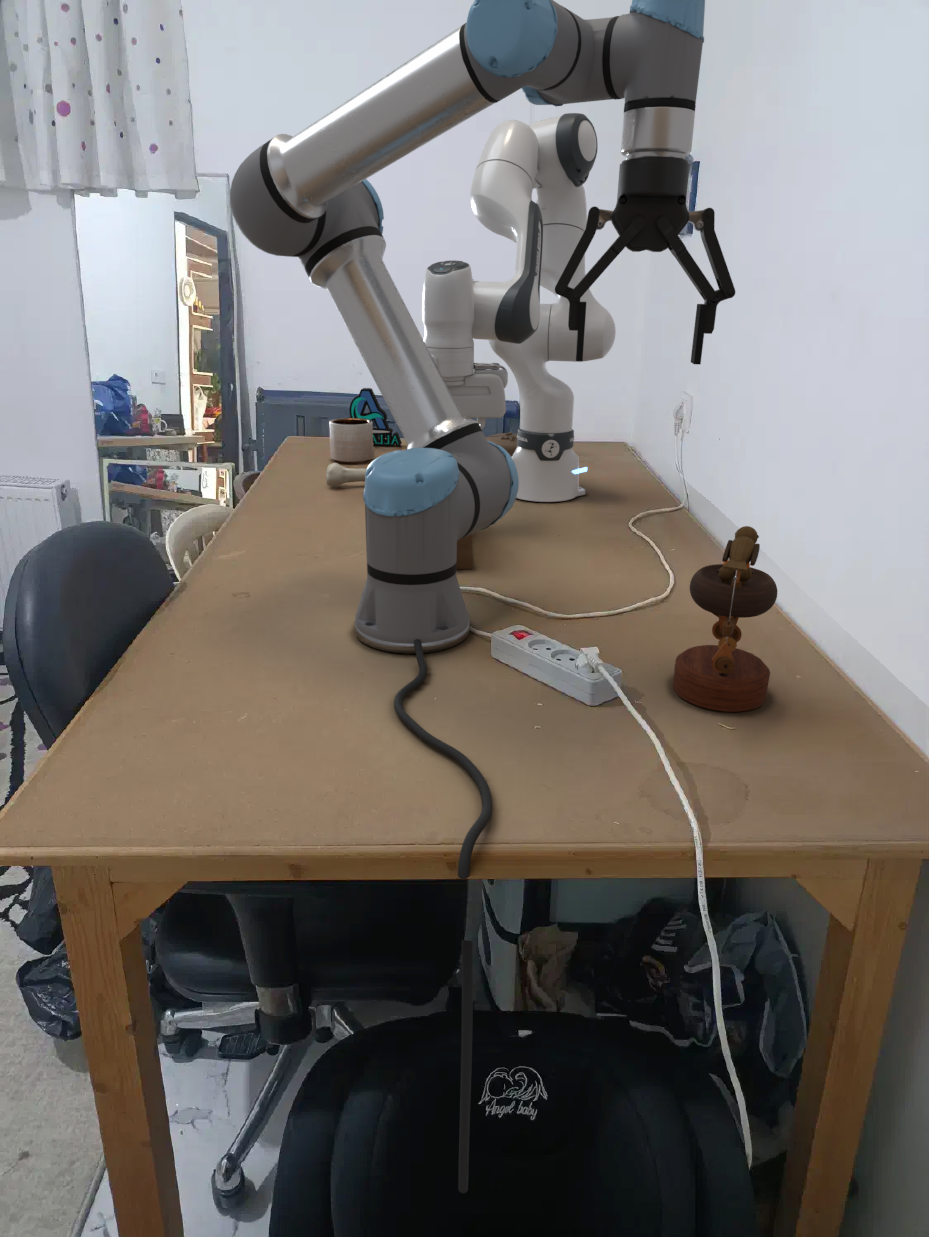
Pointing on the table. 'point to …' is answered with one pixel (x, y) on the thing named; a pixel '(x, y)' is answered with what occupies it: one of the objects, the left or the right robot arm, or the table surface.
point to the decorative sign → (374, 418)
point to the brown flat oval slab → (505, 441)
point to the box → (464, 553)
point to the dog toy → (343, 475)
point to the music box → (728, 631)
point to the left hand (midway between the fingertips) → (636, 362)
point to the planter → (351, 440)
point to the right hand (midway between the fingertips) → (448, 442)
